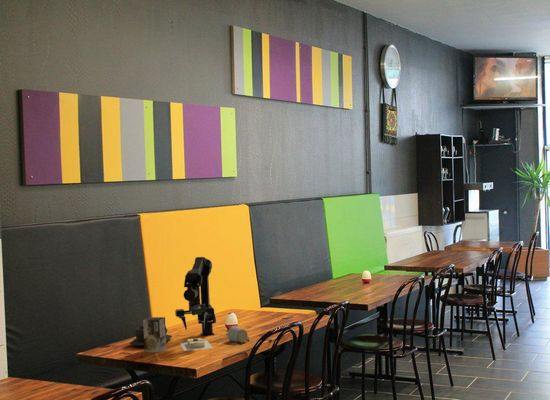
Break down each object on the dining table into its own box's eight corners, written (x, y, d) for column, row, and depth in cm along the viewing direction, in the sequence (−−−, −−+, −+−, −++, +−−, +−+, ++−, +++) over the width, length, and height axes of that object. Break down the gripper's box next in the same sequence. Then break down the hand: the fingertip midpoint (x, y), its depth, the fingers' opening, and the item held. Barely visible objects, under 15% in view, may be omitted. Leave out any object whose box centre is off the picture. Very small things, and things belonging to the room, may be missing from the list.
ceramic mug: (237, 344, 366) (237, 329, 366) (227, 342, 372) (226, 327, 372) (253, 341, 373) (253, 326, 373) (242, 339, 379) (242, 324, 379)
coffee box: (167, 350, 359) (165, 317, 359) (160, 353, 353) (159, 319, 353) (150, 349, 362) (149, 316, 362) (143, 352, 356) (142, 319, 356)
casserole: (152, 337, 391) (151, 321, 391) (180, 339, 382) (180, 323, 382) (121, 347, 369) (120, 330, 369) (150, 350, 360) (149, 333, 360)
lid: (187, 343, 369) (187, 337, 369) (201, 342, 371) (201, 336, 371) (190, 348, 358) (190, 341, 358) (204, 347, 360) (204, 340, 360)
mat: (179, 344, 372) (179, 343, 372) (207, 341, 375) (207, 340, 375) (184, 351, 354) (184, 350, 354) (213, 349, 358) (213, 348, 358)
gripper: (177, 301, 354) (178, 334, 354) (215, 298, 359) (216, 330, 359) (174, 298, 365) (175, 329, 365) (211, 295, 369) (213, 326, 370)
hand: (195, 329), depth 365 cm, fingers open, 9 cm apart
